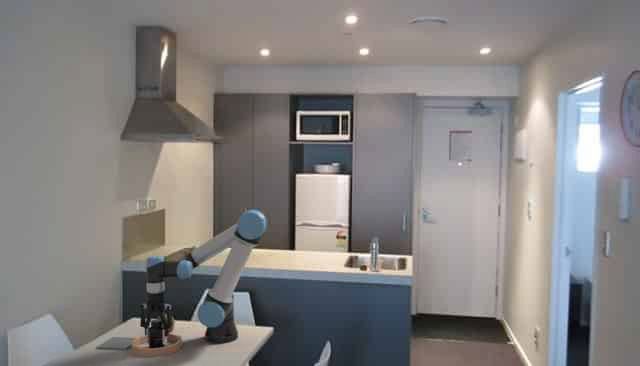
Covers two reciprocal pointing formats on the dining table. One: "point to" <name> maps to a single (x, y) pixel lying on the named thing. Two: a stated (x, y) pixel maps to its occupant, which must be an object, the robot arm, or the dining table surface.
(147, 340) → the robot arm
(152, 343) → the supplement bottle
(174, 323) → the natural sponge
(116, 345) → the mat
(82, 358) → the dining table surface
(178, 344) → the pink polygonal hoop
